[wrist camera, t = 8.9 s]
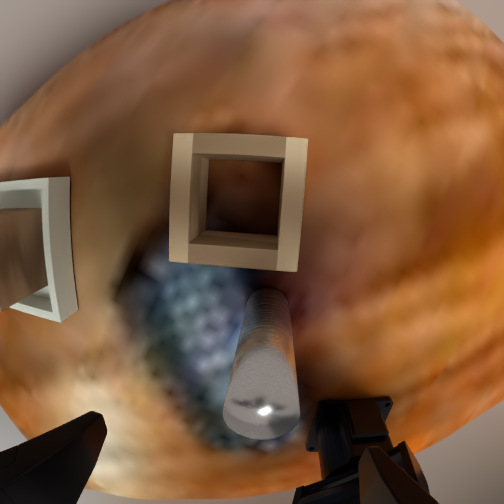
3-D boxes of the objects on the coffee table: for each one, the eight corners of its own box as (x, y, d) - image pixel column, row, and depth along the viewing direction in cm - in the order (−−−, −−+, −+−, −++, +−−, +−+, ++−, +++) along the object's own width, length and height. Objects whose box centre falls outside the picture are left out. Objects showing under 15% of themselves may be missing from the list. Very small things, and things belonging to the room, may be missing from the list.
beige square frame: (291, 252, 18) (296, 272, 14) (189, 245, 19) (169, 261, 15) (300, 148, 17) (307, 138, 13) (194, 143, 17) (173, 133, 13)
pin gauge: (286, 328, 20) (293, 441, 10) (244, 325, 20) (222, 435, 10) (291, 289, 19) (305, 390, 9) (247, 286, 19) (223, 384, 9)
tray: (78, 309, 21) (61, 322, 18) (3, 291, 21) (-13, 299, 19) (69, 176, 18) (48, 177, 16) (-6, 183, 19) (-25, 185, 16)
